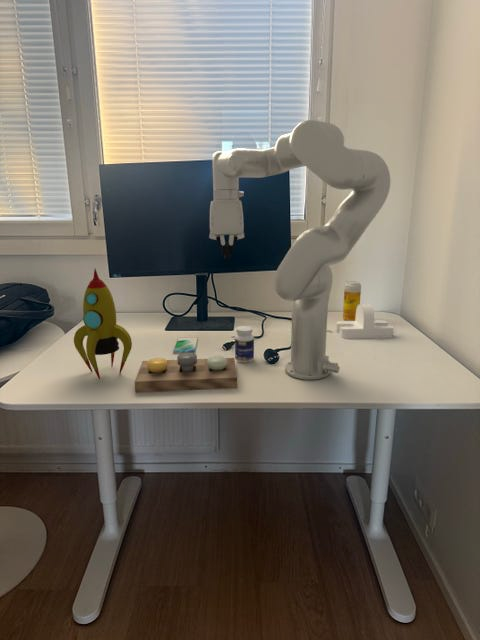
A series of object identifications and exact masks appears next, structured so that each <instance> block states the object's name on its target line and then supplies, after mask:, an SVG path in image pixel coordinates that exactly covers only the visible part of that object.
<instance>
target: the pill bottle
mask: <svg viewBox="0 0 480 640" xmlns="http://www.w3.org/2000/svg"><path fill="white" fill-rule="evenodd" d="M235 332H236V333H237V334H236V335H235V336H234V359H235V362H239V363H251V362H252V361H254V359H255V337H254V335H253V334H252V333H253V327H251V326H248V325H247V326H246V325H242V326H237V327H236V331H235Z"/></svg>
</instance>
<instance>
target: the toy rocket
mask: <svg viewBox="0 0 480 640" xmlns="http://www.w3.org/2000/svg"><path fill="white" fill-rule="evenodd" d="M115 306H116V305H115V302H114V298H113V295H112V293H111V291H110V288H109V286H107V285H106V284H105V282H104V281H103V279H100V278H99V275H98V272H97V269H96V268H94V271H93V278H92V280H90V281H89V283H88V285H87V287H86V288H85V291H84V296H83V303H82V313H83V317H82V322H83V323H84V324H83V325H82V326H81V327H79V328H78V329H77V330H76V331H75V334H74V337H73V343H74V344H73V345H74V347H75V349H76V352H78V354H79V355H80V357H81V359H83V360H82V361H83V362H84V363H85V365H86V366H87V368H88V369H89V371H90V373H93V371H94V372H95V374H96V376H97V378H98V379H99V380H100V379H101V378H100V377H101V375H100V373H99V372H100V371H99V367H98V366H99V365H98V361H97V358H96V356H104V355H110V358H111V359H110V360H111V362H110V364H111V368H113V367H114V366H113V365H114V359H115V354H116V352H117V351H119V350H120V346H119V344H120V343H119V341H118V340H120V341H121V343H122V346H123V351H122V357H121V363H120V367H119V368H120V369H119V374H121V373H122V371H123V369H124V366H125V364H126V361H127V359H128V358H129V355H130V353H131V350H132V348H133V343H132V342H133V341H132V337H131V335H130V333H129V331H127V330H126V328H124V327H123V326H121V325H120V324H117V310H116V307H115ZM86 337H87V338H86ZM85 338H86V343H85V346H86V349H85V347H84V343H83V342H84V339H85Z"/></svg>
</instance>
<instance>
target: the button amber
mask: <svg viewBox="0 0 480 640" xmlns="http://www.w3.org/2000/svg"><path fill="white" fill-rule="evenodd" d="M167 360H168V359H166V358H161V357H159V358H152V359H149V360H147V361H148V362H147V367H148V370H149V371H152V373H164V372H163V371H164V370H166V369H167Z"/></svg>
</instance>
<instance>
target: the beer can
mask: <svg viewBox="0 0 480 640" xmlns="http://www.w3.org/2000/svg"><path fill="white" fill-rule="evenodd" d="M361 284H362V283H361V282H360V281H356V280H350V281H349V280H348V281H346V282H345V284H344V290H343V293H344V294H343V305H342V306H343V308H342V319H343V321H355V318H356V309H357V306H358V305H361V293H362V292H361V291H362V285H361Z"/></svg>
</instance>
